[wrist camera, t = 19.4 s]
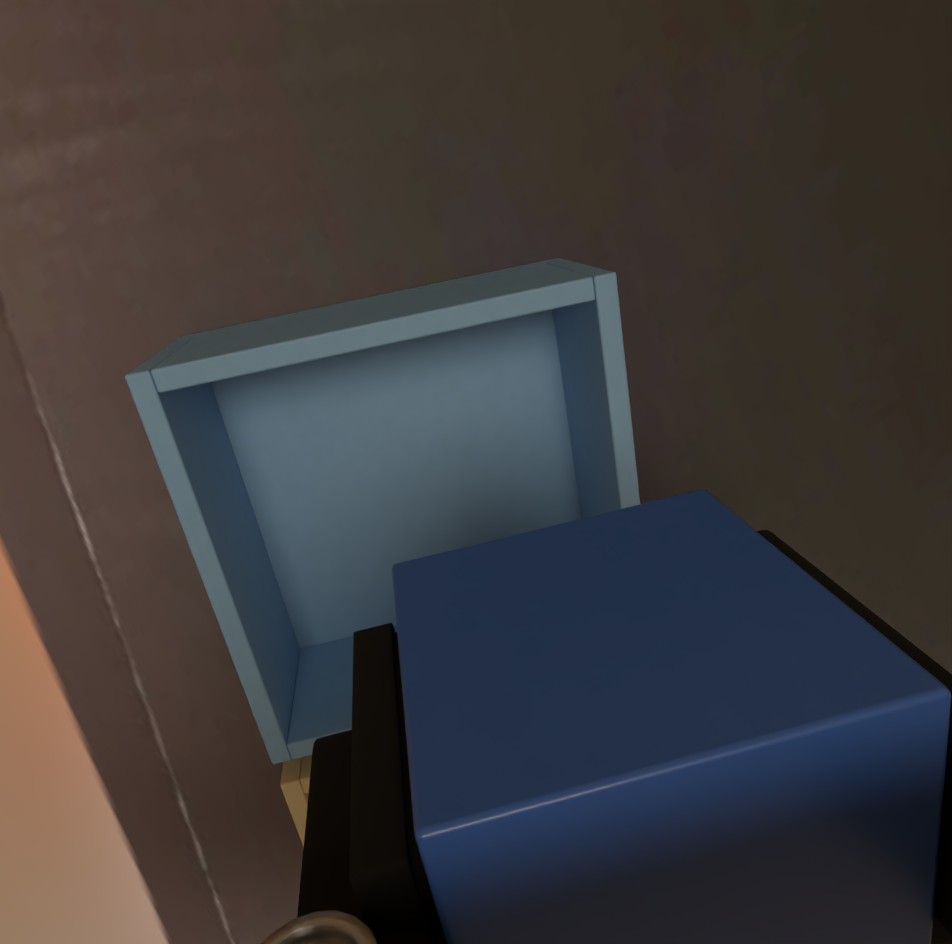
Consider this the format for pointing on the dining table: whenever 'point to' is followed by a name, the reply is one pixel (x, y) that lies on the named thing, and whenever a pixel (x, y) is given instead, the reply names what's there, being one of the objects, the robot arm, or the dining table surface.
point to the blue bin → (380, 458)
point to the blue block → (663, 741)
